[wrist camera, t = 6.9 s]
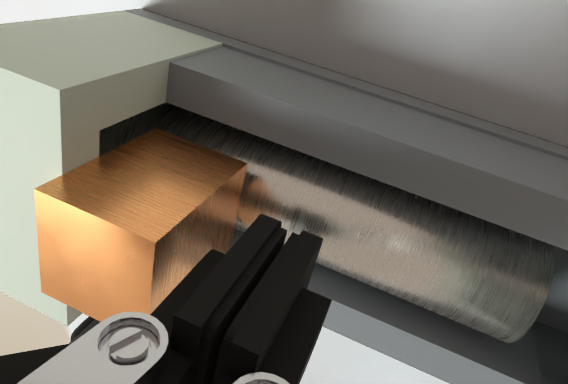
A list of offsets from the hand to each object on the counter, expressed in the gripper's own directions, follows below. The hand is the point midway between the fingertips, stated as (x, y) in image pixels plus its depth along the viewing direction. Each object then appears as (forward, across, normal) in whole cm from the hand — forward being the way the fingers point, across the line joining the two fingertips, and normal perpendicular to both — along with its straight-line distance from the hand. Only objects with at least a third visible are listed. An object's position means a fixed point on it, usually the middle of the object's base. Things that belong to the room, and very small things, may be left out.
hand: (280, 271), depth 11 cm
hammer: (+5, +1, 0) cm, 5 cm away
